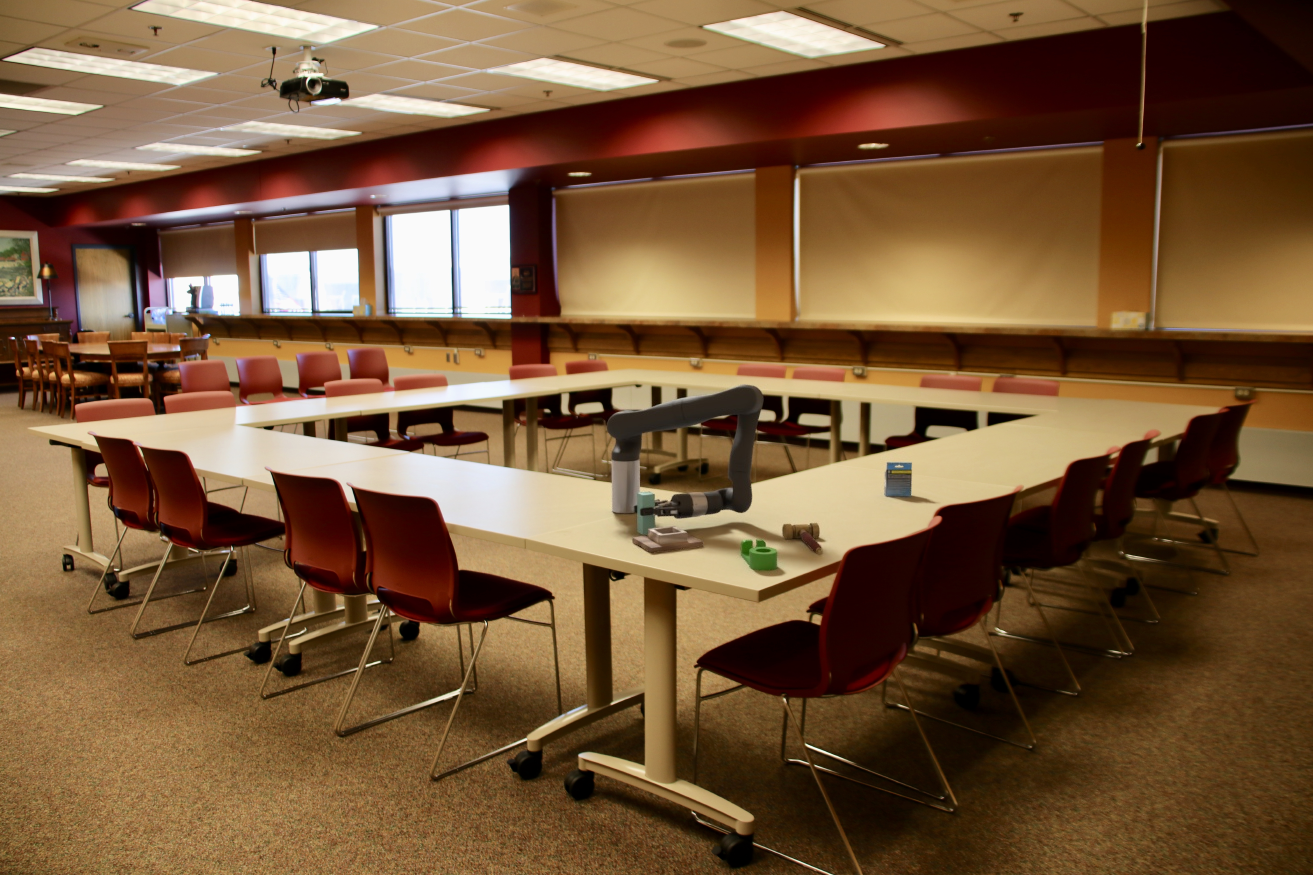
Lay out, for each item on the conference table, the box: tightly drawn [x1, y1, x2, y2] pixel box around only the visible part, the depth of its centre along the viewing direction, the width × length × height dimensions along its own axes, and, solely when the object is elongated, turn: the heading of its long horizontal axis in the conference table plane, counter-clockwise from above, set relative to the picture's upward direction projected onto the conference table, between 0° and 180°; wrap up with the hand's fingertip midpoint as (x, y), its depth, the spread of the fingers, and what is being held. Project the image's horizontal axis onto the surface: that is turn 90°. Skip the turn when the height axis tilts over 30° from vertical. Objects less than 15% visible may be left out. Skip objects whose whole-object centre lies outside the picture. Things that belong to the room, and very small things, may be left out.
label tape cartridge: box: [883, 461, 913, 498], centre depth 319 cm, size 9×4×12 cm, turn 84°
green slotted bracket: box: [740, 538, 778, 572], centre depth 237 cm, size 15×7×5 cm, turn 8°
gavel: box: [781, 522, 823, 555], centre depth 254 cm, size 21×5×10 cm
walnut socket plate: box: [632, 525, 704, 554], centre depth 255 cm, size 13×16×4 cm
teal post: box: [636, 491, 656, 536], centre depth 268 cm, size 4×4×12 cm
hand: (637, 510), depth 267 cm, fingers closed on teal post, 4 cm apart
